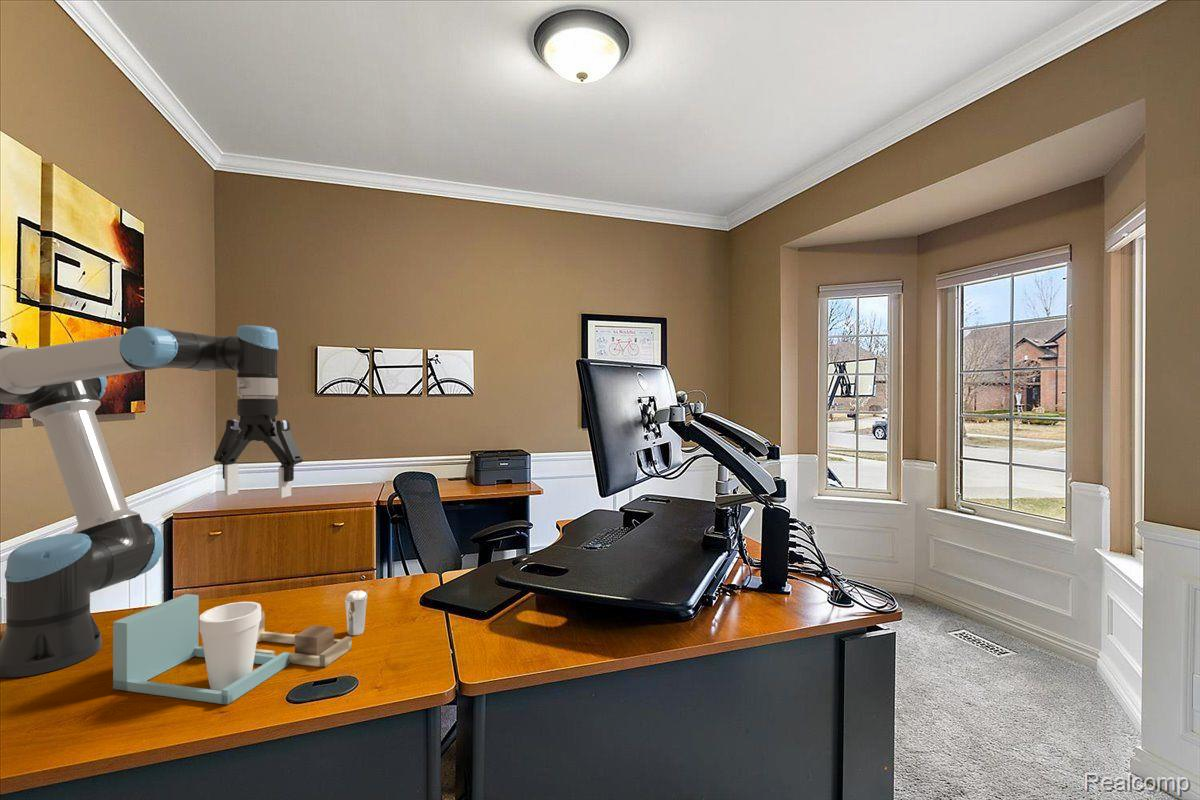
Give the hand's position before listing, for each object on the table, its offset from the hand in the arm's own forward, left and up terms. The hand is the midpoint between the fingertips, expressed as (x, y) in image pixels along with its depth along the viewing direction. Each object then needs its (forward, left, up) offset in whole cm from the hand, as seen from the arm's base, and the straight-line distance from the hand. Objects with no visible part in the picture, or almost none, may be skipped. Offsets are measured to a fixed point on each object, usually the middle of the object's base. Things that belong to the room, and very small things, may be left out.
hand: (257, 495), depth 117 cm
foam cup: (+10, -17, -31) cm, 37 cm away
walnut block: (+18, -5, -31) cm, 36 cm away
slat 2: (+18, -5, -31) cm, 36 cm away
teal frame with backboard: (+4, -16, -31) cm, 35 cm away
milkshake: (+20, +6, -31) cm, 37 cm away
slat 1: (+5, -5, -31) cm, 32 cm away
